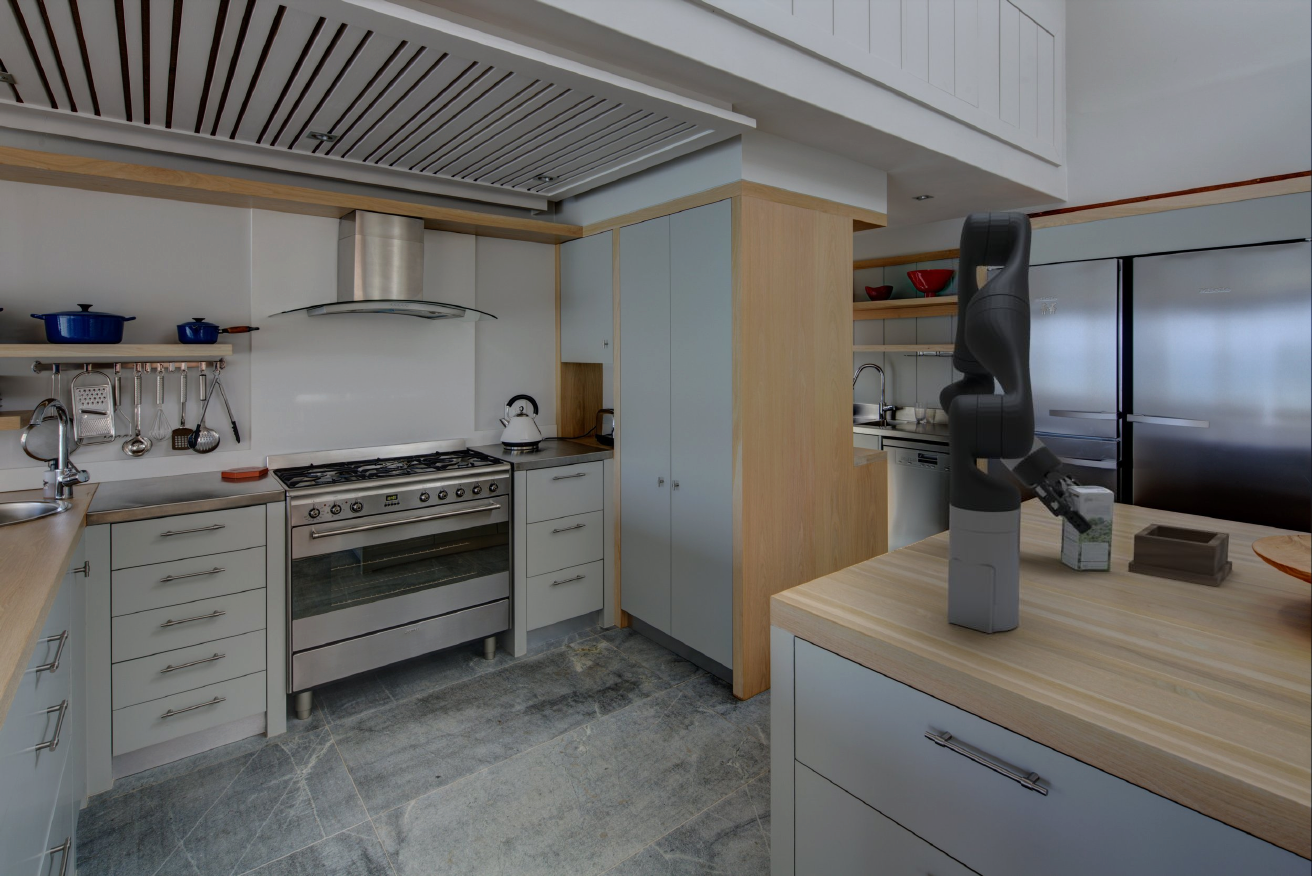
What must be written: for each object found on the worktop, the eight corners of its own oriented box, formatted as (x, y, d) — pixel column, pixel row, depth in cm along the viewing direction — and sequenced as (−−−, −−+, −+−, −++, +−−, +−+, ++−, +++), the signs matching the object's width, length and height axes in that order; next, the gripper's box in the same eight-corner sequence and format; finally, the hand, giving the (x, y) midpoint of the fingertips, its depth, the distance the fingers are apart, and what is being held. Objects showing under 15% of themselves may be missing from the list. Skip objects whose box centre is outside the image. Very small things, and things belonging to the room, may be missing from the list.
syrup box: (1092, 561, 120) (1095, 484, 119) (1111, 571, 115) (1114, 490, 113) (1060, 561, 121) (1062, 485, 119) (1077, 571, 115) (1080, 491, 114)
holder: (1216, 586, 105) (1218, 547, 105) (1128, 571, 114) (1129, 535, 114) (1231, 569, 113) (1233, 533, 112) (1147, 556, 122) (1149, 522, 121)
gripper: (1027, 449, 117) (1100, 521, 109) (1057, 440, 126) (1126, 507, 118) (996, 475, 121) (1063, 546, 114) (1027, 465, 130) (1091, 531, 123)
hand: (1095, 526), depth 116 cm, fingers closed on syrup box, 8 cm apart
